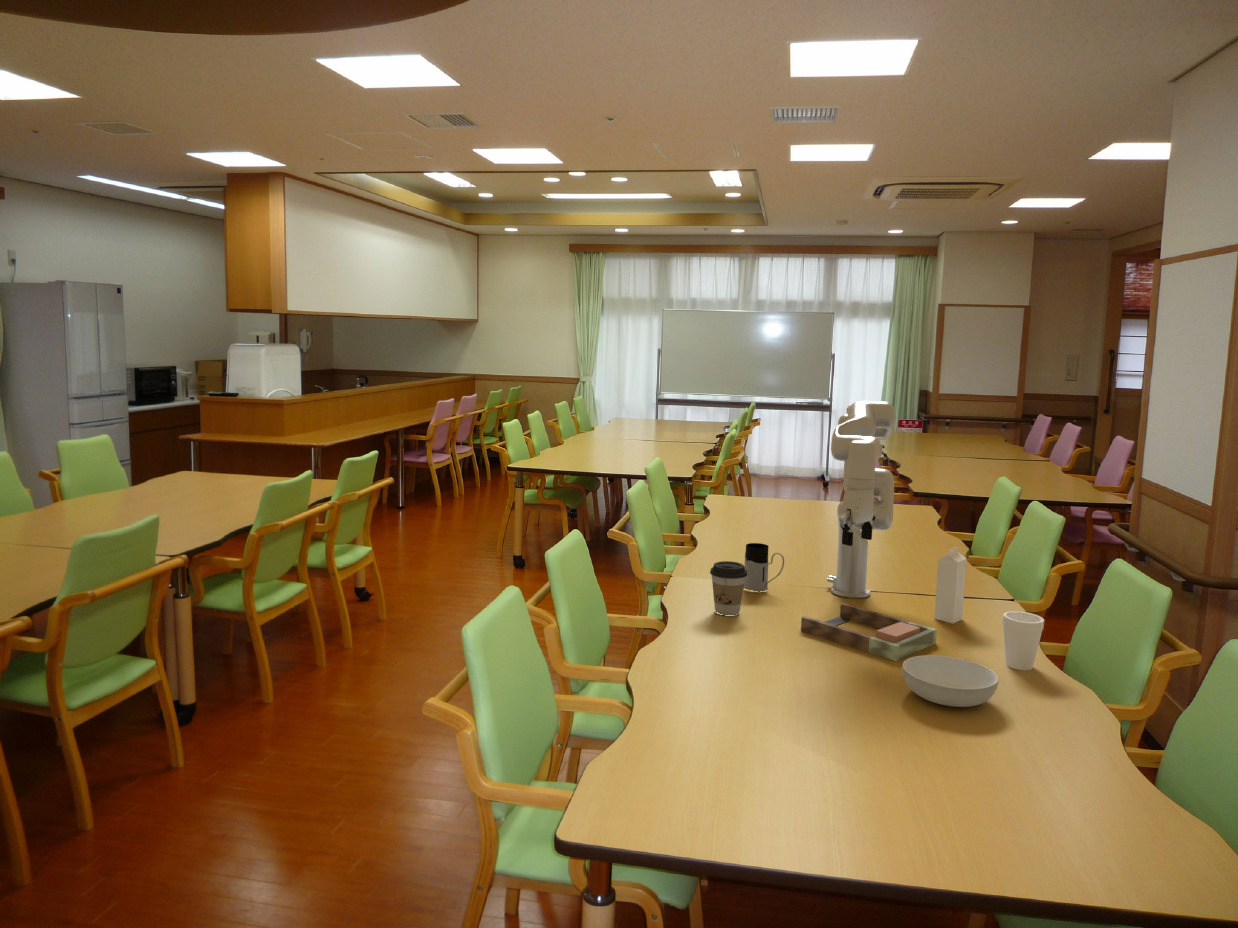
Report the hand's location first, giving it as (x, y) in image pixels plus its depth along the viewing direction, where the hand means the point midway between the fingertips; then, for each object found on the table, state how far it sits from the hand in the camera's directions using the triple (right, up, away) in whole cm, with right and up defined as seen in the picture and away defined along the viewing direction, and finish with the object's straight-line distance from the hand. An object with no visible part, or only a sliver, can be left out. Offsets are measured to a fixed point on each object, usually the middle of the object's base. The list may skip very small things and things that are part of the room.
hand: (856, 541), depth 237 cm
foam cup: (+35, -30, -24) cm, 52 cm away
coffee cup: (-35, -23, +15) cm, 45 cm away
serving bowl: (+8, -33, -45) cm, 56 cm away
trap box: (+2, -26, -4) cm, 27 cm away
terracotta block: (+8, -28, -11) cm, 31 cm away
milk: (+31, -25, +12) cm, 41 cm away
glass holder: (-20, -20, +38) cm, 48 cm away
